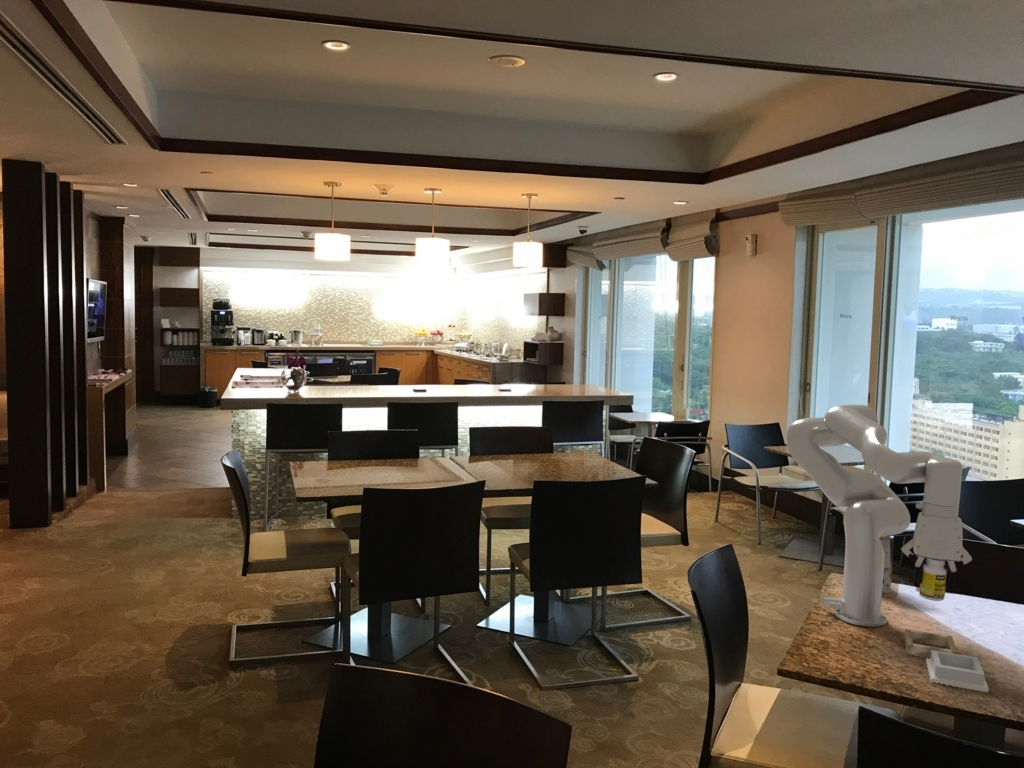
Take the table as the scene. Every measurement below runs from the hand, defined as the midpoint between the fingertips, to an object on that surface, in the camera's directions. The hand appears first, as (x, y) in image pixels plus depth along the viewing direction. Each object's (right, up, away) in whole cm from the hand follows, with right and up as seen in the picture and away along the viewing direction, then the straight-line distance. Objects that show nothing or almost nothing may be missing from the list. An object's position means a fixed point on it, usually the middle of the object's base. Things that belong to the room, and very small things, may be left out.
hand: (933, 583), depth 192 cm
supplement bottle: (0, -4, 0) cm, 4 cm away
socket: (-2, -18, -13) cm, 22 cm away
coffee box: (+6, -13, +45) cm, 47 cm away
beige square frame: (0, -16, +1) cm, 16 cm away
